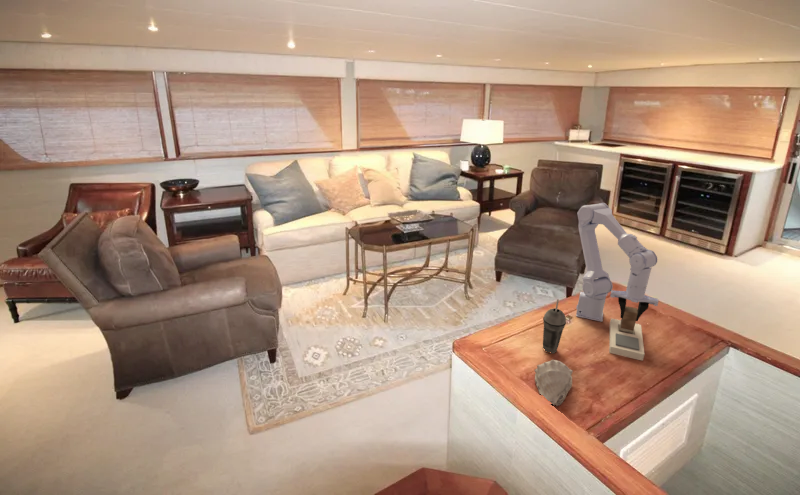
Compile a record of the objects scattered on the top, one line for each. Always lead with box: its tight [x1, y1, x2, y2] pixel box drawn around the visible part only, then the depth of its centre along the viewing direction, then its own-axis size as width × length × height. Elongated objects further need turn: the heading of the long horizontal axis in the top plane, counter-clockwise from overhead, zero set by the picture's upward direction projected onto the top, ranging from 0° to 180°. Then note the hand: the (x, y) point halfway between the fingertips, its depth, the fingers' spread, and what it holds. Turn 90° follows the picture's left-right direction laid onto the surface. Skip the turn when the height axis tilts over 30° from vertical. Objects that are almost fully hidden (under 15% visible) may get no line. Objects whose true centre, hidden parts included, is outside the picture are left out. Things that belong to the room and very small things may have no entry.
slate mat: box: [616, 333, 639, 351], centre depth 142 cm, size 7×7×1 cm
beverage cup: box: [542, 298, 567, 354], centre depth 139 cm, size 7×7×20 cm
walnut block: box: [620, 305, 638, 331], centre depth 148 cm, size 4×4×7 cm
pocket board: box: [608, 318, 645, 361], centre depth 147 cm, size 10×20×2 cm, turn 155°
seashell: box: [534, 359, 574, 407], centre depth 122 cm, size 12×14×10 cm
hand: (628, 318), depth 148 cm, fingers closed on walnut block, 4 cm apart
